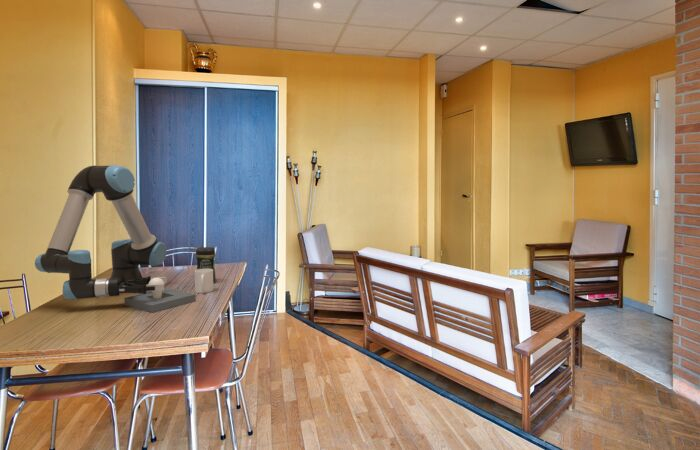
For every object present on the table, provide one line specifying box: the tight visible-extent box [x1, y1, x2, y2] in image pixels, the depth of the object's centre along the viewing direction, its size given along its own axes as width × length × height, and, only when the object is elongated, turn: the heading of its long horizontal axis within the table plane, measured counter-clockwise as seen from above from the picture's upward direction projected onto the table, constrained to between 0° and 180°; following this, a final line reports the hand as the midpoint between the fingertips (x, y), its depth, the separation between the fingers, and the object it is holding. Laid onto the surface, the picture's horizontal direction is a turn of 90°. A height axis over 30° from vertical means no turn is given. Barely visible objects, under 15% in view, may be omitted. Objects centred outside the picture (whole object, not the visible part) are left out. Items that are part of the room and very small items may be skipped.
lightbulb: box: [147, 277, 165, 300], centre depth 170 cm, size 6×6×11 cm
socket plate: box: [123, 287, 197, 314], centre depth 173 cm, size 20×20×3 cm
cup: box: [194, 268, 214, 294], centre depth 191 cm, size 8×12×10 cm
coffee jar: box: [195, 246, 217, 284], centre depth 210 cm, size 10×8×19 cm
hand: (165, 283), depth 173 cm, fingers open, 13 cm apart
